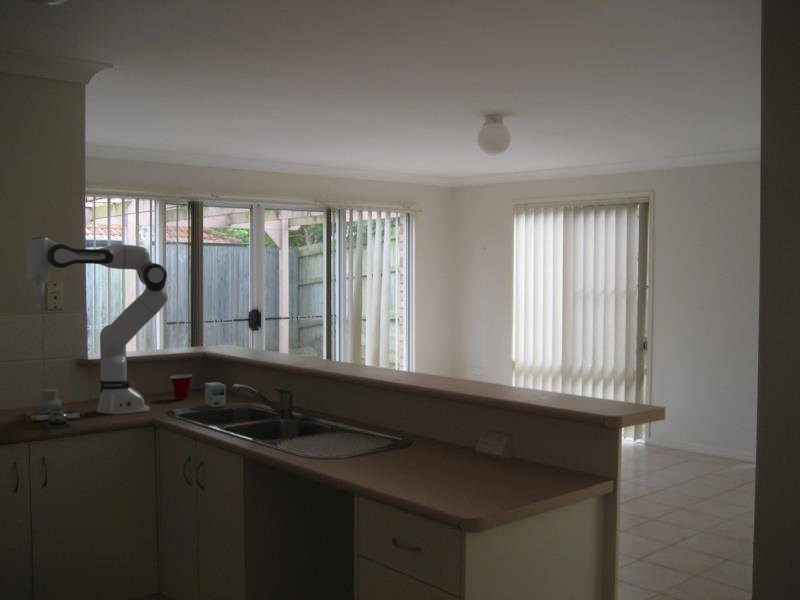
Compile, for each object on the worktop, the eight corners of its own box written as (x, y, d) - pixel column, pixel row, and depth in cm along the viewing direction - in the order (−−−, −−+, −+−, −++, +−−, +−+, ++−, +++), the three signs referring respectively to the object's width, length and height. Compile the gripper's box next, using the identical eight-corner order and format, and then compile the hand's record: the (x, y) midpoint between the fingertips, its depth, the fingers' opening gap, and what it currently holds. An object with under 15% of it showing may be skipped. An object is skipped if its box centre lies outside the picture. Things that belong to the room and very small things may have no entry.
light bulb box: (226, 407, 357) (226, 384, 357) (212, 408, 353) (212, 385, 353) (217, 403, 366) (217, 381, 366) (204, 405, 362) (204, 382, 362)
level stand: (82, 414, 333) (82, 405, 333) (83, 418, 324) (83, 408, 324) (27, 418, 324) (27, 408, 324) (26, 422, 315) (26, 412, 315)
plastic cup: (172, 397, 382) (172, 373, 382) (194, 397, 383) (194, 373, 383) (167, 401, 371) (167, 376, 371) (190, 401, 373) (190, 376, 372)
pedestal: (69, 423, 314) (69, 421, 314) (70, 427, 306) (70, 425, 306) (45, 425, 310) (45, 422, 310) (45, 429, 302) (45, 426, 302)
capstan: (83, 417, 321) (83, 406, 321) (85, 426, 303) (85, 414, 303) (31, 420, 313) (31, 408, 313) (30, 429, 295) (30, 417, 295)
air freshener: (62, 413, 335) (62, 391, 335) (41, 415, 331) (41, 392, 330) (58, 409, 344) (58, 387, 344) (38, 411, 340) (38, 389, 340)
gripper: (46, 274, 320) (46, 307, 320) (46, 274, 338) (46, 305, 339) (29, 274, 317) (29, 307, 318) (30, 274, 336) (30, 305, 336)
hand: (38, 306), depth 328 cm, fingers open, 8 cm apart
